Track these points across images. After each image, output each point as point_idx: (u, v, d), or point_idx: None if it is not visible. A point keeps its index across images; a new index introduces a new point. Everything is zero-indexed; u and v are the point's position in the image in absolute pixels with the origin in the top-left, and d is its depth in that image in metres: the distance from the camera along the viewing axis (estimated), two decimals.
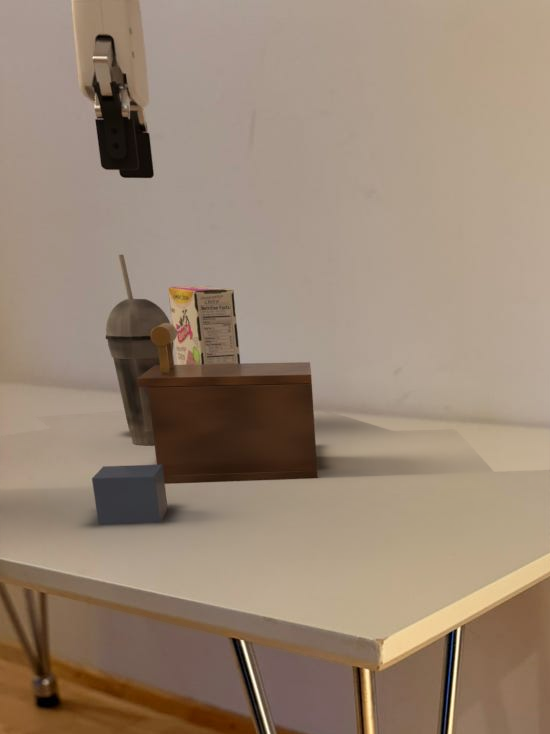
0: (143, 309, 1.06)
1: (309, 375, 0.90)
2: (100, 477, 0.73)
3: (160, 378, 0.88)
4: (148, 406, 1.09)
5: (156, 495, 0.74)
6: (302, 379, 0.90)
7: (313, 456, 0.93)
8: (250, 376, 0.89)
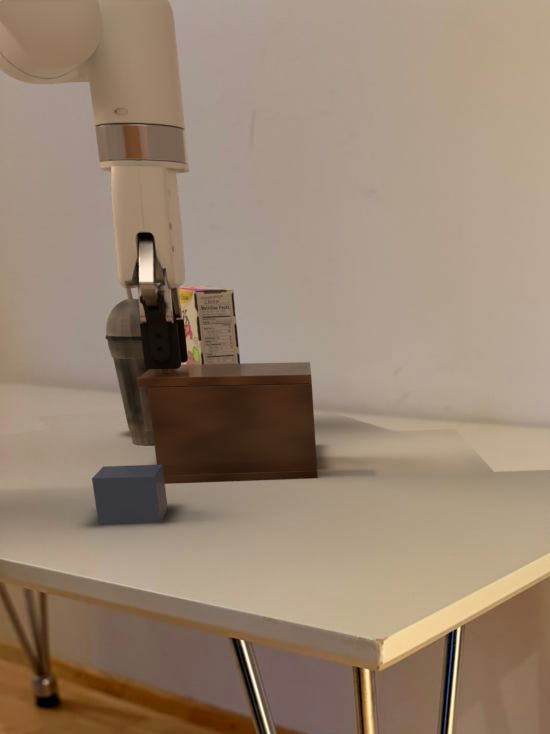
0: None
1: (309, 375, 0.90)
2: (100, 477, 0.73)
3: (160, 378, 0.88)
4: (148, 406, 1.09)
5: (156, 495, 0.74)
6: (302, 379, 0.90)
7: (313, 456, 0.93)
8: (250, 376, 0.89)
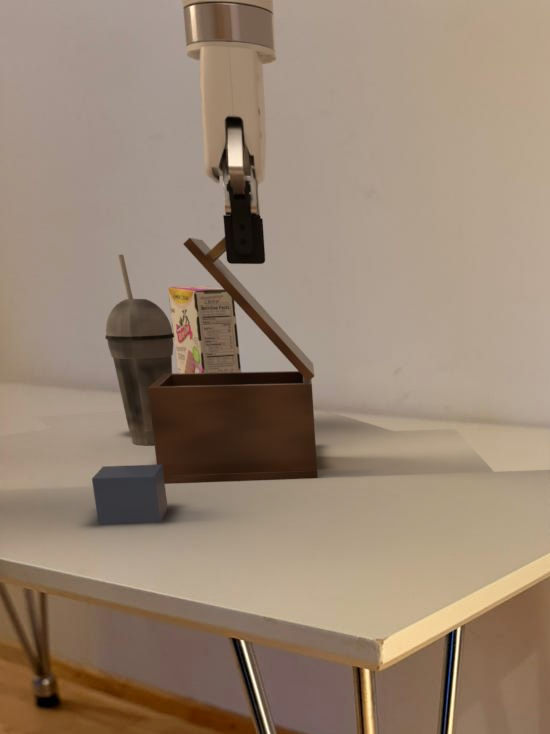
0: (143, 309, 1.06)
1: (312, 375, 0.90)
2: (100, 477, 0.73)
3: (206, 257, 0.85)
4: (148, 406, 1.09)
5: (156, 495, 0.74)
6: (305, 372, 0.90)
7: (313, 456, 0.93)
8: (271, 329, 0.88)
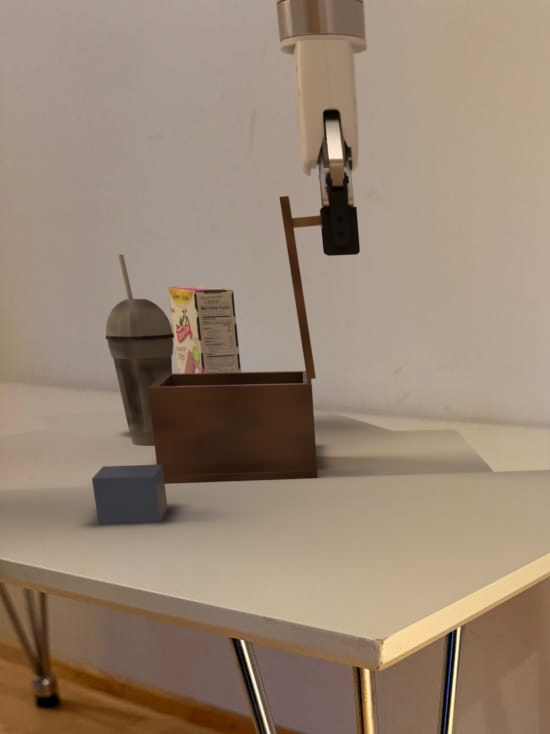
0: (143, 309, 1.06)
1: (314, 376, 0.90)
2: (100, 477, 0.73)
3: (291, 221, 0.85)
4: (148, 406, 1.09)
5: (156, 495, 0.74)
6: (309, 369, 0.90)
7: (313, 456, 0.93)
8: (305, 316, 0.88)
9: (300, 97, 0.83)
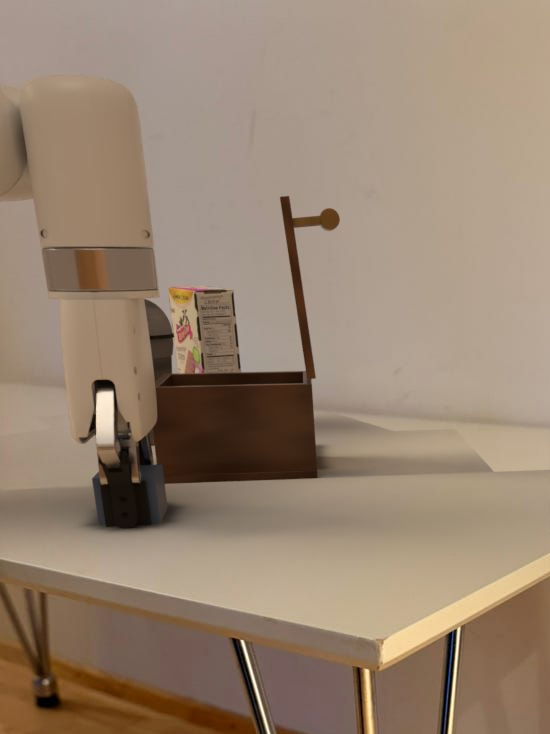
0: None
1: (314, 376, 0.90)
2: None
3: (291, 221, 0.85)
4: None
5: (156, 495, 0.74)
6: (309, 369, 0.90)
7: (313, 456, 0.93)
8: (305, 316, 0.88)
9: (64, 365, 0.67)
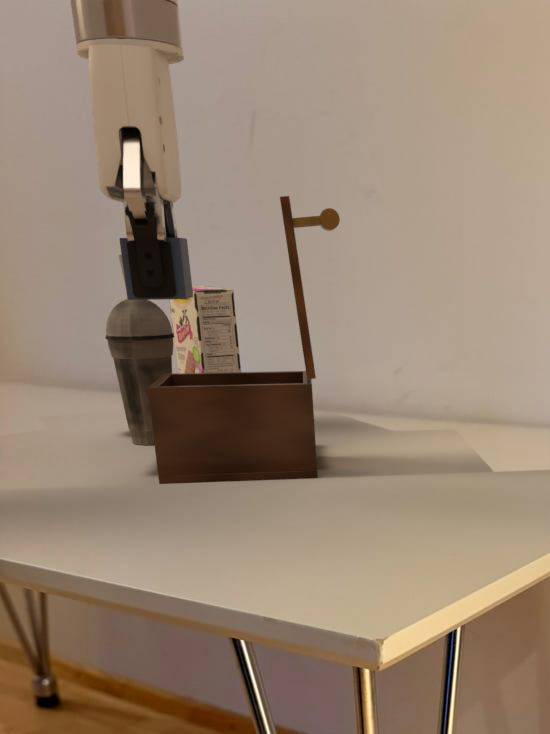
0: (143, 309, 1.06)
1: (314, 376, 0.90)
2: None
3: (291, 221, 0.85)
4: (148, 406, 1.09)
5: (181, 258, 0.76)
6: (309, 369, 0.90)
7: (313, 456, 0.93)
8: (305, 316, 0.88)
9: (92, 111, 0.70)
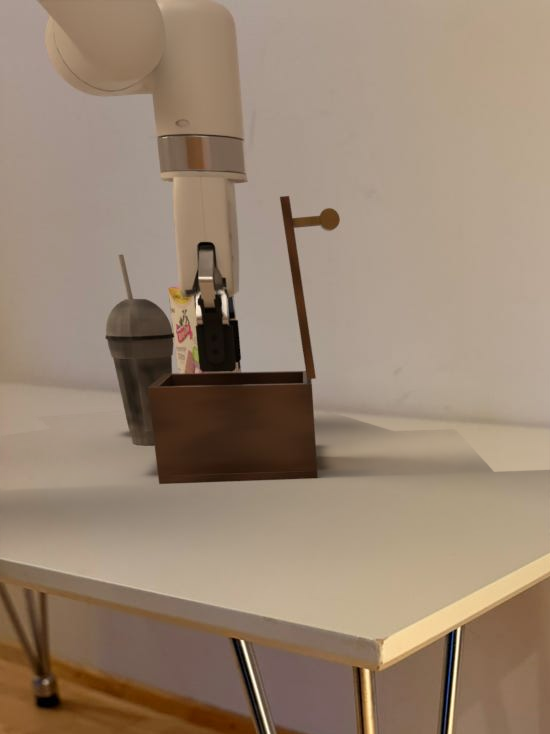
0: (143, 309, 1.06)
1: (314, 376, 0.90)
2: None
3: (291, 221, 0.85)
4: (148, 406, 1.09)
5: None
6: (309, 369, 0.90)
7: (313, 456, 0.93)
8: (305, 316, 0.88)
9: (175, 230, 0.85)
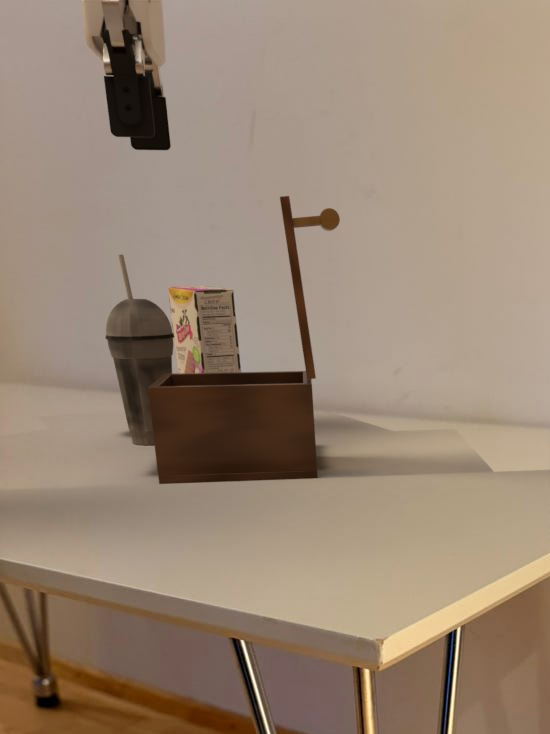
0: (143, 309, 1.06)
1: (314, 376, 0.90)
2: None
3: (291, 221, 0.85)
4: (148, 406, 1.09)
5: None
6: (309, 369, 0.90)
7: (313, 456, 0.93)
8: (305, 316, 0.88)
9: None
